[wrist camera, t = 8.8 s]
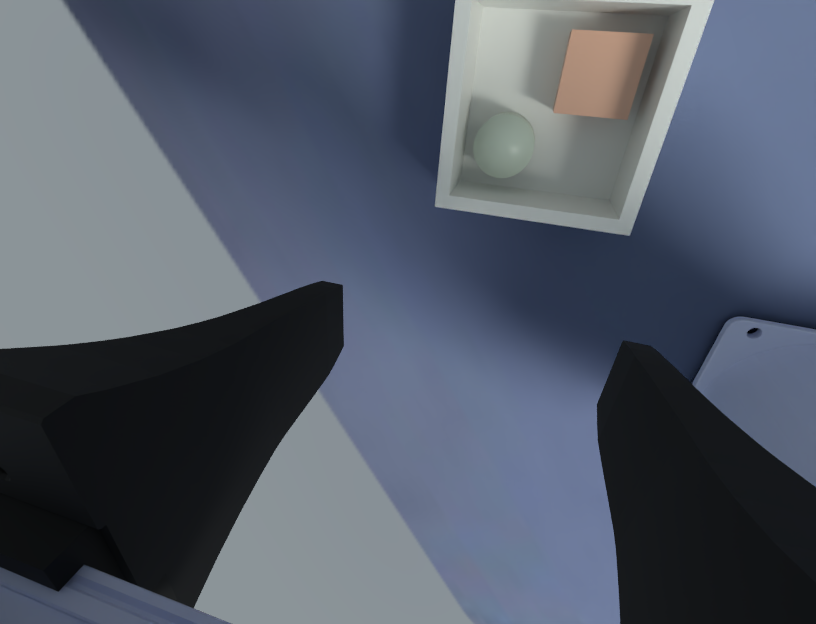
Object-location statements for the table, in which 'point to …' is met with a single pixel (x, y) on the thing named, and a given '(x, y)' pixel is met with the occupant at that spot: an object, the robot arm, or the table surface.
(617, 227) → the storage box
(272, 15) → the table surface
